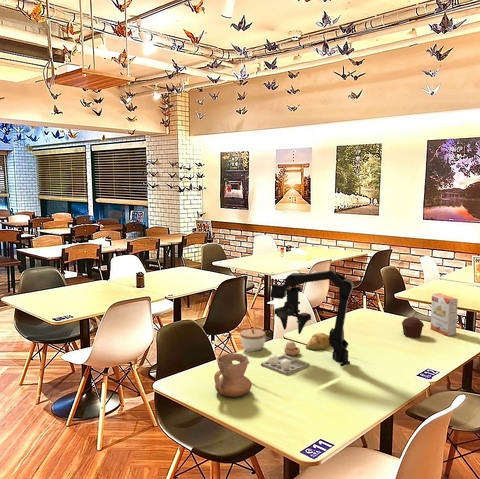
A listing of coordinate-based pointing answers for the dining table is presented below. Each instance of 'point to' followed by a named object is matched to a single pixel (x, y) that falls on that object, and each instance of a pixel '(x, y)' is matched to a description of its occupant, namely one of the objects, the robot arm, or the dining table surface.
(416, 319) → the muffin
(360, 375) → the dining table surface
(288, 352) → the small terracotta bowl
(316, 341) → the croissant
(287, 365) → the white egg
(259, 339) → the lidded bowl
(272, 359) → the white egg
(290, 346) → the brown egg
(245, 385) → the ceramic jug
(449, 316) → the cracker box
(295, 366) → the egg carton
